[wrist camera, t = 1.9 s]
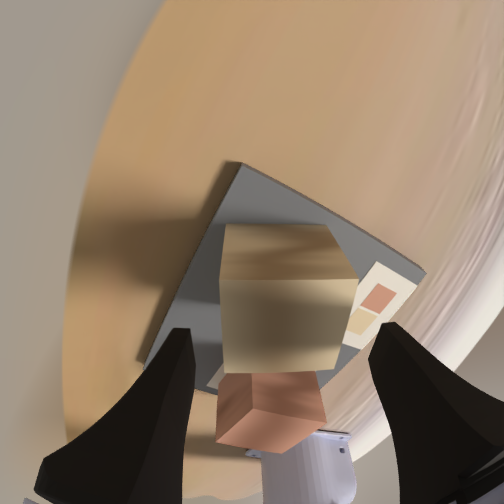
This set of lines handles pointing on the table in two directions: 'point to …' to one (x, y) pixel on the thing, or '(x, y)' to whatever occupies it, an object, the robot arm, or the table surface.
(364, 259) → the build board
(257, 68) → the table surface
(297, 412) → the rust block
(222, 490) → the table surface
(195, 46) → the table surface
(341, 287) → the maple block
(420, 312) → the table surface
